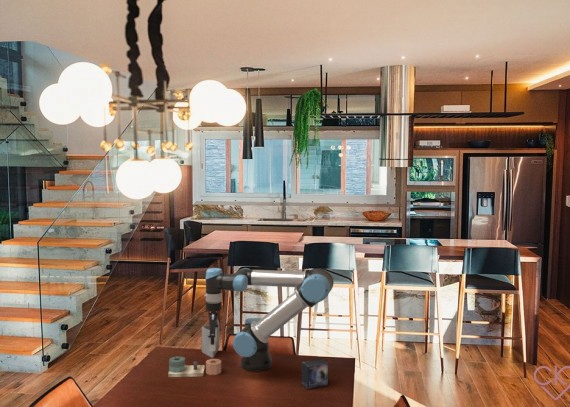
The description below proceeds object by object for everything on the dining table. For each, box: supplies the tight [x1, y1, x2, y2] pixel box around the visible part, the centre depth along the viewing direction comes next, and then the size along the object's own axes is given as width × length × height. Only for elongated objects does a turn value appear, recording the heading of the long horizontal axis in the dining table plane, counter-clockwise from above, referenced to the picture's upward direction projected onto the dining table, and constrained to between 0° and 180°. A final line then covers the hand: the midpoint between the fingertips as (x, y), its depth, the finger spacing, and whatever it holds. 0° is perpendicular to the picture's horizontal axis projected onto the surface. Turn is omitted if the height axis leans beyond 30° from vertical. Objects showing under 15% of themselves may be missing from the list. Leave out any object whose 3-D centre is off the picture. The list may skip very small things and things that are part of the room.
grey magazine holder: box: [201, 318, 221, 359], centre depth 272 cm, size 16×8×19 cm, turn 177°
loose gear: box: [205, 358, 222, 376], centre depth 246 cm, size 7×7×5 cm
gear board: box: [167, 356, 206, 378], centre depth 245 cm, size 16×10×6 cm, turn 95°
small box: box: [300, 358, 329, 390], centre depth 232 cm, size 11×6×10 cm, turn 117°
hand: (213, 345), depth 246 cm, fingers open, 13 cm apart
